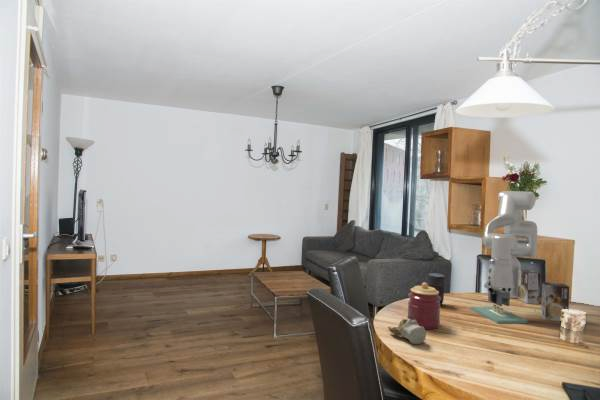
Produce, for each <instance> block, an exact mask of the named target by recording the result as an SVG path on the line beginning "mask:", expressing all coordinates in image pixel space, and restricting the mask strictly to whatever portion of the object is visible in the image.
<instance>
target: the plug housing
mask: <svg viewBox="0 0 600 400" xmlns="http://www.w3.org/2000/svg"><path fill="white" fill-rule="evenodd" d="M487 291H488V290H487ZM490 294H491V293H490V292H489V291H488V293H487V301H489V302H490V303H493V302H491V300H490ZM495 294H496V303H493V305H496V306H499V307H503V305H504V306H505V307H506V306H507V307H510V299H511V298H510V293H509V292H507V291H504V290H502V289H500V288H497V289H496V293H495Z"/></svg>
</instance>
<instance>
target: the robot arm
mask: <svg viewBox="0 0 600 400" xmlns="http://www.w3.org/2000/svg"><path fill="white" fill-rule="evenodd" d="M497 199H498V203H499V205H498V210H497V211H498V212H497V215H496V217H493V218H492V219H491V220H490V221H489V222H488V223H487V224H486V225H485V228H484V234H483V238H482V239H483V241H482V243H483V245H484V247H485V248H487V249H491V258H490V259H489V260H488V262H489V263H490V264H489V267H488V272H487V279H486V282H485V284H484V285H483V287H484V288H486V290H487V291H489V292H490V293H491V294H490V300H491V302H490V303H492V302H493V304H494V303H496V294H495V293H496V289H497V288H499V289H502V290H504V291H507V292H509V293H510V299H518V284H519V270H522V265H521V262H520V261H519V259H517V258H527V259H533V258H536V256H537V254H538V253H537V252H538V226H537V224H536V222H534V221H531V220H522V218H523V217H522V215H523V213H522V212H523V211H531V210H532V209H533V208H534V206H535V205H536V200H537V199H536V194H535V193H534V191H524V190H523V191H522V190H521V191H519V190H504V191H500V192H498V195H497ZM500 228H503V233H500V232H499V233H498V232H497V233H496V232H494V231H495V230H497V229H500Z"/></svg>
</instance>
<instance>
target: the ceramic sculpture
mask: <svg viewBox="0 0 600 400" xmlns="http://www.w3.org/2000/svg"><path fill="white" fill-rule="evenodd" d="M387 328H388V330H389V331H390V332H391V333H392V334H393V335H395V336H401V337H402V338H404V339H406V340H409V342H410V343H411V344H413V345H420V344H422V343H424V341H426V338H427V332H426V329H424V327H422V326H419V325H418V323H417V321H416V320H415V319H413V318H412V317H409V319H407V318H403V319H401V320H400V322H399V324H398V326H393V327H391V326H388V327H387Z"/></svg>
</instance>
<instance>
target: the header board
mask: <svg viewBox="0 0 600 400" xmlns="http://www.w3.org/2000/svg"><path fill="white" fill-rule="evenodd" d="M470 310H472V311H474V312H475V313H477V314H480V315H481V316H484V317H485V318H486V319H489V320H490V321H492V322H494V323H496V324H528V320H527V319H525V318H523V317H521V316H519V315H517V314H515V313H512V312H510V311H508V310H507V309H505V308H503V307H501V306H499V305H497V304H493V305H492V306H471V307H470Z"/></svg>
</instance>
